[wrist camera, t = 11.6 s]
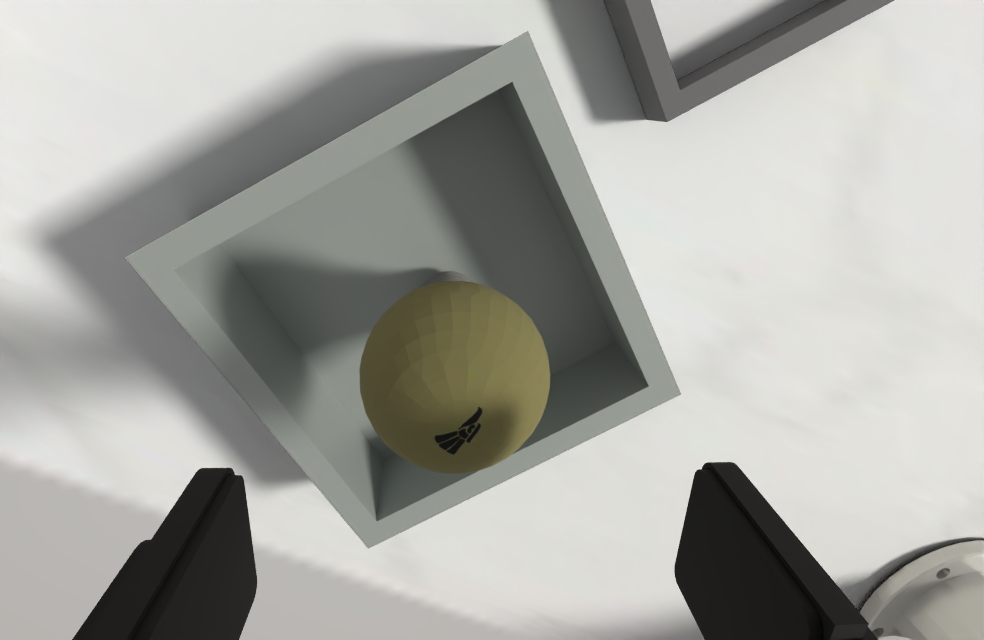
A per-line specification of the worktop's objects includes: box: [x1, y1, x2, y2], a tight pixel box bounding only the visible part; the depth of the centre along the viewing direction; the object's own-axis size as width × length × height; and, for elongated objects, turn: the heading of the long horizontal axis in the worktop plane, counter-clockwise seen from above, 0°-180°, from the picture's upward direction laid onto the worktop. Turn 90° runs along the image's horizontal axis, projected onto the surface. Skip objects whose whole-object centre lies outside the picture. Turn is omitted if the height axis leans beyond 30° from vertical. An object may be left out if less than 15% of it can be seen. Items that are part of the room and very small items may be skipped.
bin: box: [124, 31, 681, 548], centre depth 21 cm, size 14×14×5 cm
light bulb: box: [359, 271, 550, 474], centre depth 18 cm, size 6×6×10 cm
